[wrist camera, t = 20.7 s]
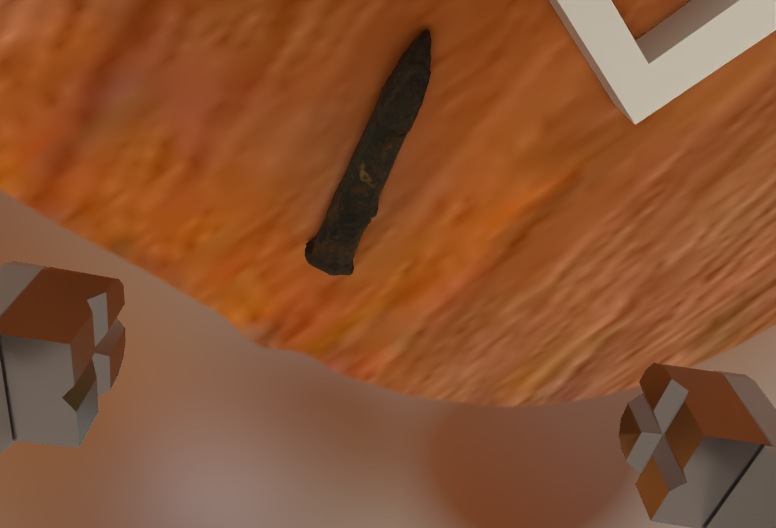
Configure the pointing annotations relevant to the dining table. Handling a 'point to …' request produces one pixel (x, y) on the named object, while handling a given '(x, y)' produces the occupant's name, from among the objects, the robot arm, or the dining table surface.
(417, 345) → the dining table surface
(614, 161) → the dining table surface
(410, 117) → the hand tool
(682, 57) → the rack
